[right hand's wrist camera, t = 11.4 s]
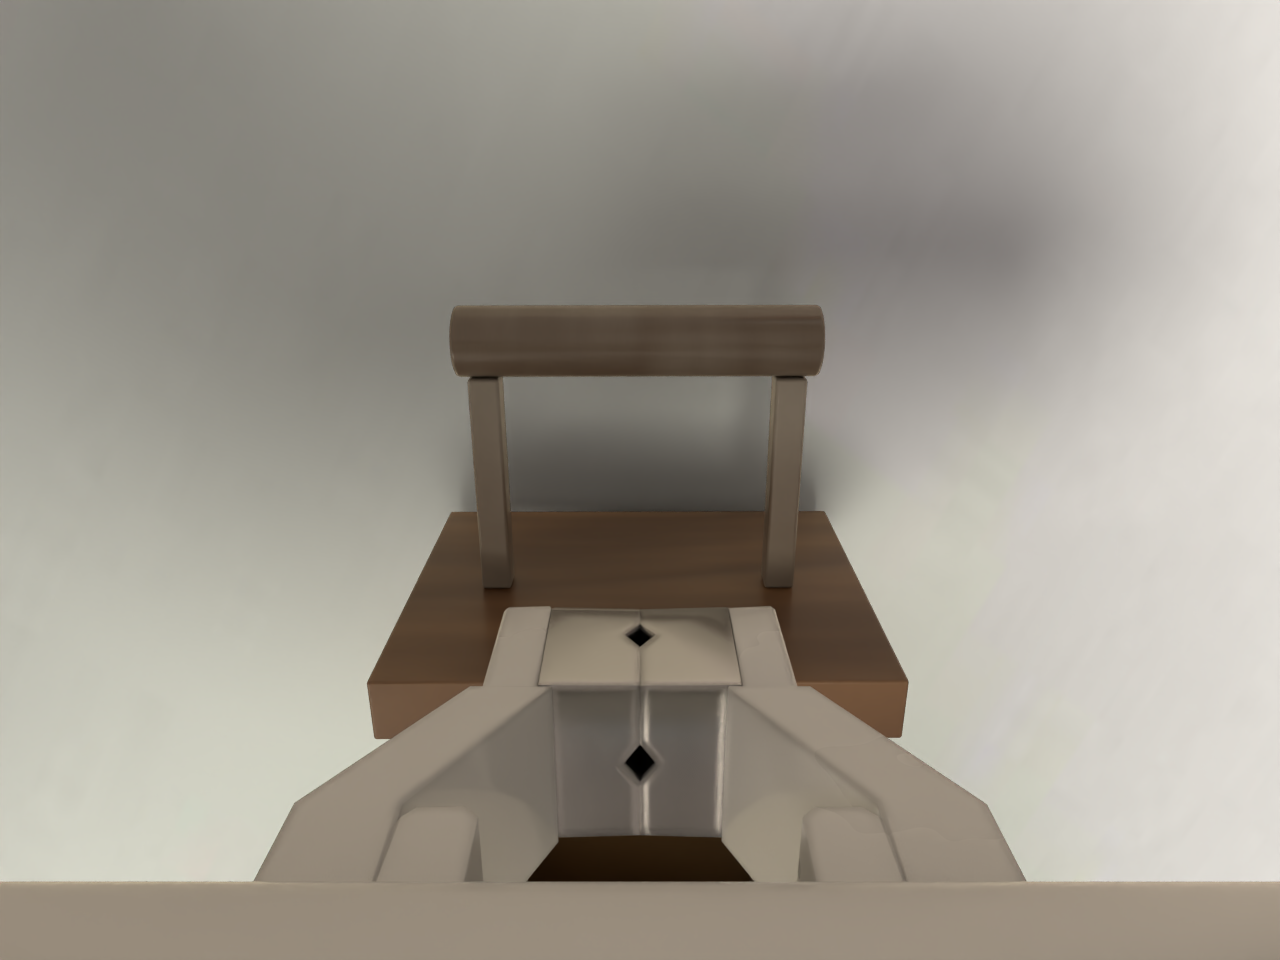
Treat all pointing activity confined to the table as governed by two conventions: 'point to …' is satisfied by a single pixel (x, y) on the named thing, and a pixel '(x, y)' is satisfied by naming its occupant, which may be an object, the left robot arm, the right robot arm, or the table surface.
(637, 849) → the drawer
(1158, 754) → the table surface
